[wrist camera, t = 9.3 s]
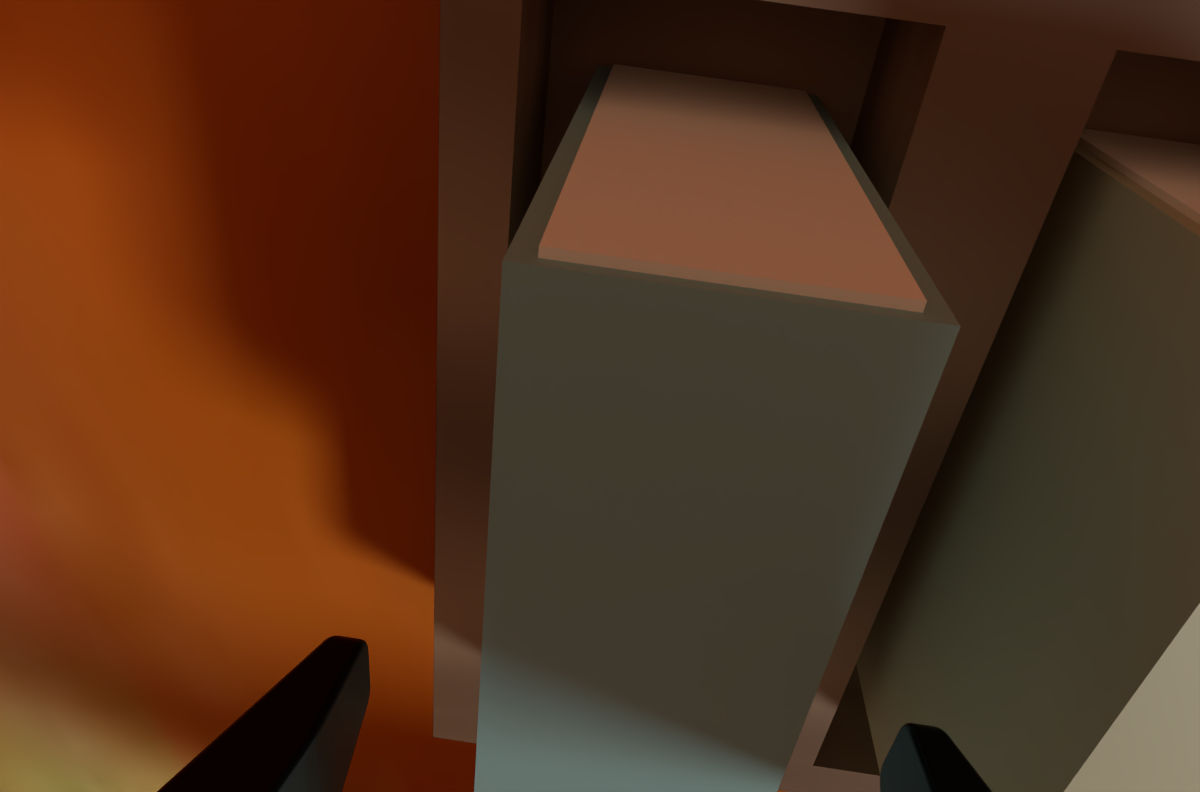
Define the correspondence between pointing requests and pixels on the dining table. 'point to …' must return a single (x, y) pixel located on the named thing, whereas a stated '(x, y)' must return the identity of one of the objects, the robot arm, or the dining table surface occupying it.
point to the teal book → (690, 436)
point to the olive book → (1069, 507)
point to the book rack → (887, 155)
